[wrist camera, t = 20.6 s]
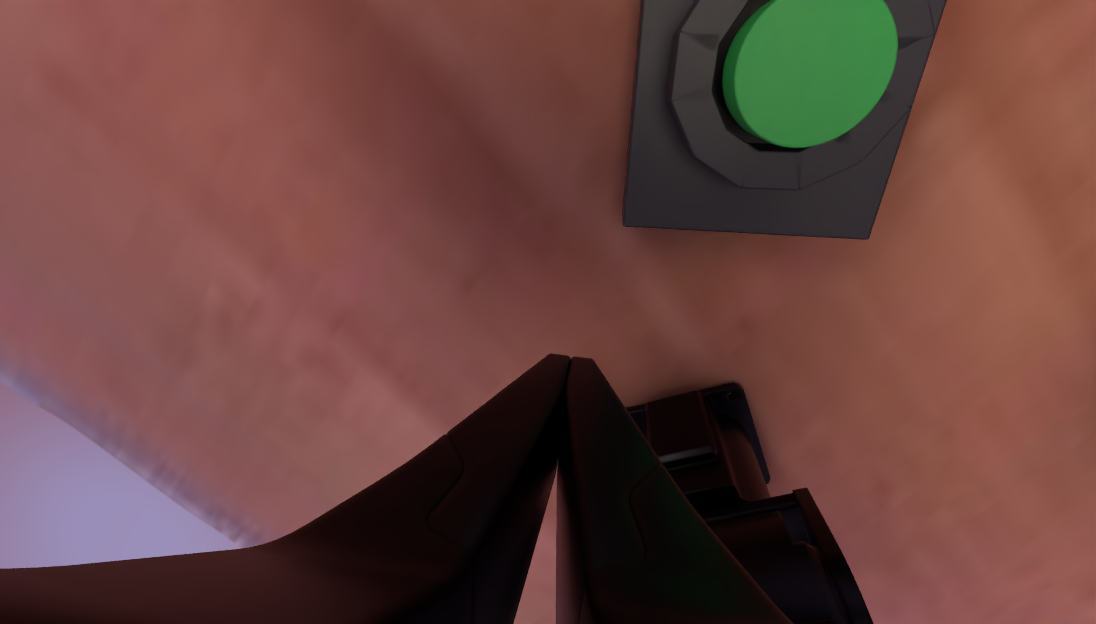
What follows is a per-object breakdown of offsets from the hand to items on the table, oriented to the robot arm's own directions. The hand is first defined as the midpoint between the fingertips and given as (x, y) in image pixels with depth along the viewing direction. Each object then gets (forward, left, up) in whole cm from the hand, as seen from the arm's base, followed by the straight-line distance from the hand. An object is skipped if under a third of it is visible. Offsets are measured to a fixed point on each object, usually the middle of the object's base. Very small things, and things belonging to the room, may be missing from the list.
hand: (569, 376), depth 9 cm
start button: (+3, -7, -9) cm, 12 cm away
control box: (+3, -7, -13) cm, 15 cm away
